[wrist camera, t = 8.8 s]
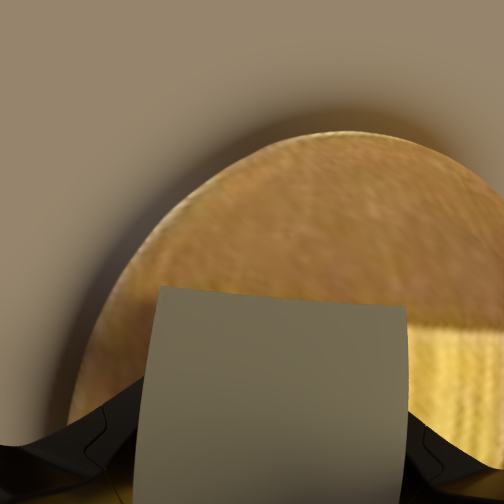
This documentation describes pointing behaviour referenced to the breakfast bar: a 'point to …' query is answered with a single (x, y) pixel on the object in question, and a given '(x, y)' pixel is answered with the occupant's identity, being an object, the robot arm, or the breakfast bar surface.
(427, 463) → the robot arm
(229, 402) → the grey-topped orange box
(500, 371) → the breakfast bar surface
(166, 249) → the breakfast bar surface
